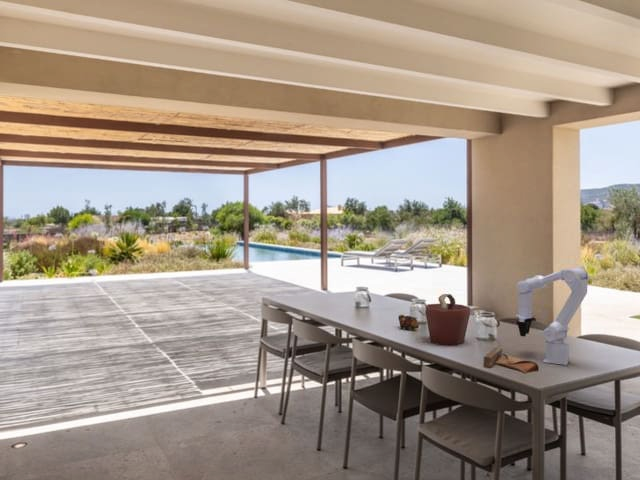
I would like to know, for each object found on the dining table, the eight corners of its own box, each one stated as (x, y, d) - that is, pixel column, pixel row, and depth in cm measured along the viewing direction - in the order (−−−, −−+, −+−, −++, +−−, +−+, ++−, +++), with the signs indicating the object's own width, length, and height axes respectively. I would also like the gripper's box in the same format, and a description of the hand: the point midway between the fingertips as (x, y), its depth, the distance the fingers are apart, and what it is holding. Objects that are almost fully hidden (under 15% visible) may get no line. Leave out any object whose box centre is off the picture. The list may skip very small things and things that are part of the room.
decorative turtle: (402, 326, 311) (404, 313, 311) (423, 331, 300) (424, 318, 299) (392, 327, 305) (393, 314, 304) (412, 333, 293) (413, 319, 293)
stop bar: (501, 357, 238) (501, 348, 238) (490, 368, 221) (490, 357, 221) (495, 356, 239) (495, 347, 239) (483, 367, 223) (483, 356, 222)
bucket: (453, 349, 253) (453, 299, 252) (414, 342, 268) (414, 294, 267) (475, 341, 271) (476, 294, 270) (438, 335, 286) (438, 290, 285)
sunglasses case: (490, 363, 228) (495, 349, 230) (499, 369, 231) (504, 355, 233) (526, 373, 213) (531, 358, 214) (535, 379, 216) (540, 365, 218)
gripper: (519, 303, 251) (518, 331, 252) (512, 307, 239) (512, 336, 240) (534, 304, 248) (534, 332, 248) (528, 308, 235) (528, 338, 236)
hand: (524, 334), depth 244 cm, fingers open, 7 cm apart
